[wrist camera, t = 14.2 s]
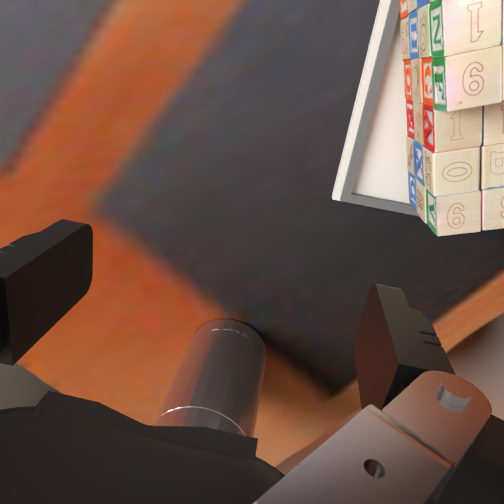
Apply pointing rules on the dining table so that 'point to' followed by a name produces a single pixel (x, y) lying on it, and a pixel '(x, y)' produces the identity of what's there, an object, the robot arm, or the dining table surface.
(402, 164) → the base board
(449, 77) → the stack of blocks
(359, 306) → the dining table surface
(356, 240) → the dining table surface
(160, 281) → the dining table surface
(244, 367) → the robot arm
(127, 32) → the dining table surface
